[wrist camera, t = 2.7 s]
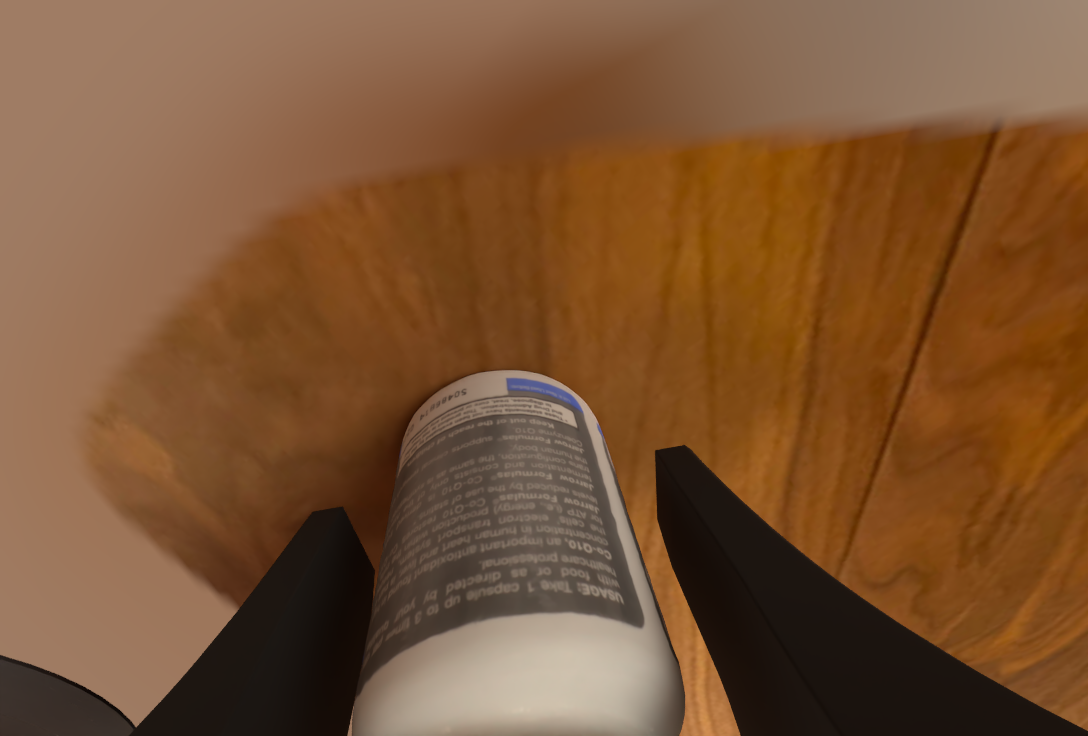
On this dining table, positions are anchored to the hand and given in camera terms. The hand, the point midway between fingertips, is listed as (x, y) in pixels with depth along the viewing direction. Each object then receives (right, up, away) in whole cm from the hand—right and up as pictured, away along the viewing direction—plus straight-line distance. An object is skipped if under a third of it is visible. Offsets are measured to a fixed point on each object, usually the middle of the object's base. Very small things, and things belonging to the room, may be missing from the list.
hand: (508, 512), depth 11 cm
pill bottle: (0, +1, +2) cm, 2 cm away
